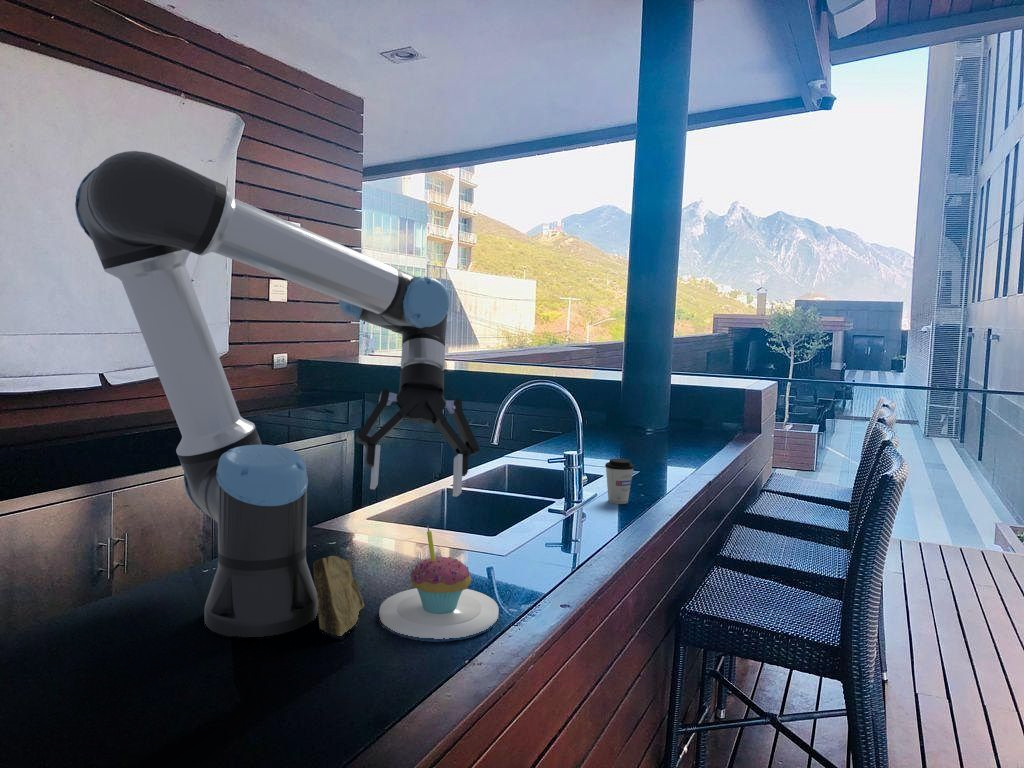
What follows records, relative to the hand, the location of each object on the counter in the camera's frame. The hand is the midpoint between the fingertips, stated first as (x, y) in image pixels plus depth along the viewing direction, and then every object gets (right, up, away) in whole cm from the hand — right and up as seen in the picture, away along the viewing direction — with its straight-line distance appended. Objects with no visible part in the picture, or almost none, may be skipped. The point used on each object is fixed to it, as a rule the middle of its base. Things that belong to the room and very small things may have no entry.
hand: (416, 491), depth 117 cm
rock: (-8, -16, -15) cm, 23 cm away
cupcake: (+5, -15, -12) cm, 20 cm away
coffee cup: (+41, -11, +58) cm, 72 cm away
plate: (+5, -16, -12) cm, 21 cm away
